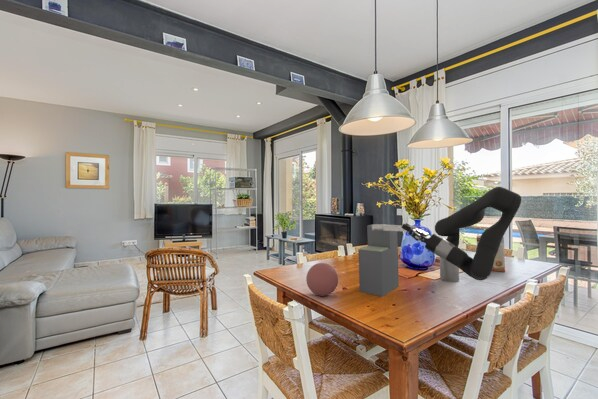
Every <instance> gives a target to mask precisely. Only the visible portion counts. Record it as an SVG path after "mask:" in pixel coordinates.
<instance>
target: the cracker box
mask: <svg viewBox="0 0 598 399" xmlns="http://www.w3.org/2000/svg"><path fill="white" fill-rule="evenodd" d="M481 235H482V234H480V235H478V234H477V235H476V246H477V245H478V242H479V240H480V237H481ZM505 259H506V258H505V237H504V236H503V238H502V241H501V243H500V246H499V249H498V252H497V255H496V257H495V260H494V264H493V268H492V271H491V272H494V271H495V272H504V273H505V272H506V263H505V262H506V260H505Z"/></svg>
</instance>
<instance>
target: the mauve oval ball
mask: <svg viewBox="0 0 598 399" xmlns="http://www.w3.org/2000/svg"><path fill="white" fill-rule="evenodd" d="M305 280H306V284H307V287H308V289H309V290H310V291H311V292H312V293H313V294H314V295H316V296H321V297H326V296H328V295H331V294H332V293H334V291H335V290H337V287H338V284H339V275H338V272H337V271H336V269H335V268H334V267H333V266H332V265H330V264H329V263H325V262H318V263H314V264H313V265H312V266H311V267H310V268H309V269H308V271H307V273H306V279H305Z"/></svg>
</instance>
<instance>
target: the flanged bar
mask: <svg viewBox="0 0 598 399" xmlns="http://www.w3.org/2000/svg"><path fill="white" fill-rule="evenodd" d="M375 224H376V225H373V224H371V225H372V230H373V231H397V232H405V233H408V231H406V230H404V229H403V228H402V225H403V224H402V225H397V224H389V225H382V224H383V223H381V224H380V223H375ZM409 227H411V228H413V229H415V230H416V228H417V225H411V226H409Z"/></svg>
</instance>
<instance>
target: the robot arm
mask: <svg viewBox="0 0 598 399" xmlns="http://www.w3.org/2000/svg"><path fill="white" fill-rule="evenodd" d="M521 203H522V196H521V195H520V194H519V193H517V192H515V191H512V190H509V189H508V188H505V187H503V186H495V187H493V188H491V189H490V190H488V191H487V192H486V193H485V194H483V195H481V196H480V197H479V198H478V199H476V200H475V201H473V202H472V203H470V204H468V205H466V206H464V207H462V208H461V209H459V210H458V211H455V212H454V213H453V214H451V215H449V216H447V217H444V218H441V219H439V220H438V221H437V222H436V223H435V226H434V231H435V233H433V234H432V235H430V234H429V233H430V232H428V231H426V230H424V229H421V228H419V227H416V230H415V229H413V228H411V227H409V226H412V225H410V223H406V222H405V223H403V224H402V228H403V229H404V230H406V231H408V232H407V233H408V235H409V236H410V237H412V238H413V239H414V240H415V241H417V242H421V243H425V245H424V248H425V249H426V250H428V251H429V252H431V253H433V254H435V255H436V256H438V257H439V279H440V280H441V281H445V282H453V283H454V282H460V270H461V271H462V272H463V273H465V274H466V275H468V276H469V277H470V278H472V279H474V280H476V281H485V280H487V279H488V278H489V276H490V275H491V273H492V272H493V271H492V268H493V264H494V260H495V257H496V255H497V252H498V249H499V246H500V243H501V241H502V238H503V237H504V236H505V235H506V232H507V230H508V228H509V227H510V225H511V223H512V221H513V220H514V217H516V214H517V212H518V211H519V209H520V206H521ZM486 208H493V209H494V210H497V211H499V212H501V216H500V217H499V219H498V221H497V222H495V223H494V224H493V225H491V226H489V227H488V228H486V229H485V230H484V231H483V232H482V233H481V234H480V235H481V237H480V240H479V242H478V245H477V244H476V249H475V253H474V255H473V257H471V256H469V254H468V253H467V252H466V251H465V250H463V249H462V248H460V247H459V244H460V229H462V228H463V229H464V228H468V227H472V226H474V225H477V224H479V223H480V222H481V221H482V220H483V219H484V217H485V212H486ZM443 237H447V238H443Z"/></svg>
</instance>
